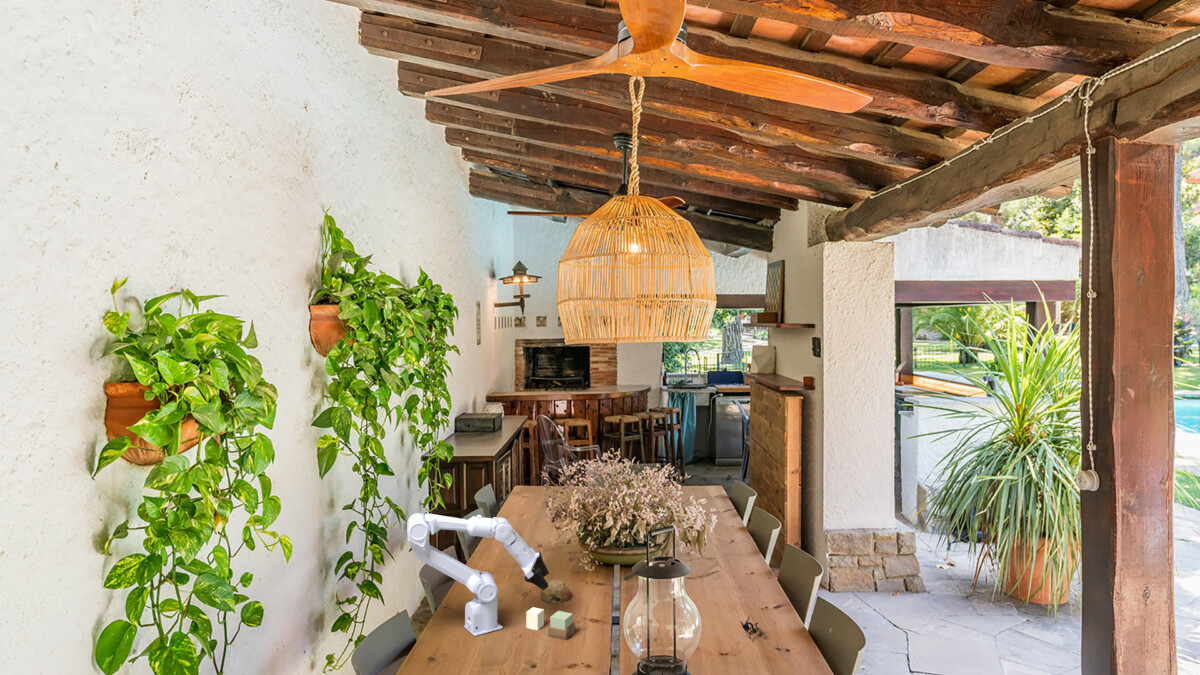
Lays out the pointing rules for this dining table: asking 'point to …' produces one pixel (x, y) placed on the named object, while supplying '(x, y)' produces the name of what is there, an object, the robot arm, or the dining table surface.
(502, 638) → the dining table surface
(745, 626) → the creature
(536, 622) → the white block
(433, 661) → the dining table surface
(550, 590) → the brown rounded lump
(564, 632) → the tower base
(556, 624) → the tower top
